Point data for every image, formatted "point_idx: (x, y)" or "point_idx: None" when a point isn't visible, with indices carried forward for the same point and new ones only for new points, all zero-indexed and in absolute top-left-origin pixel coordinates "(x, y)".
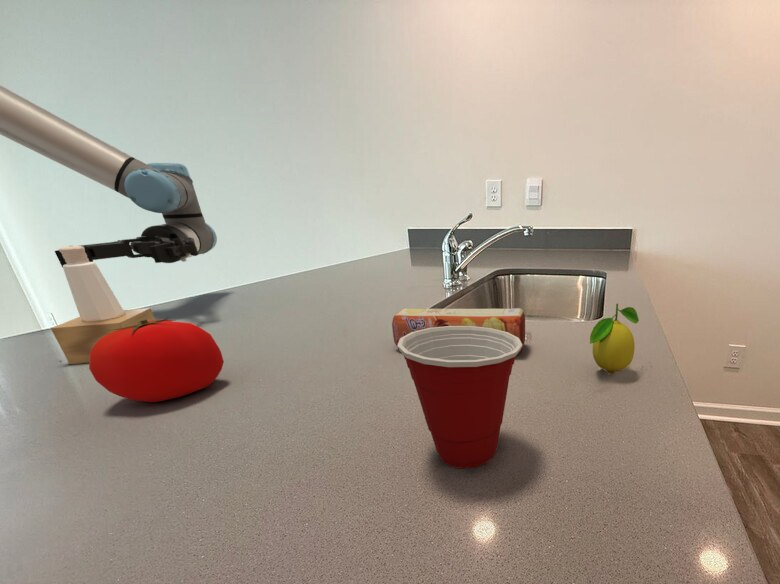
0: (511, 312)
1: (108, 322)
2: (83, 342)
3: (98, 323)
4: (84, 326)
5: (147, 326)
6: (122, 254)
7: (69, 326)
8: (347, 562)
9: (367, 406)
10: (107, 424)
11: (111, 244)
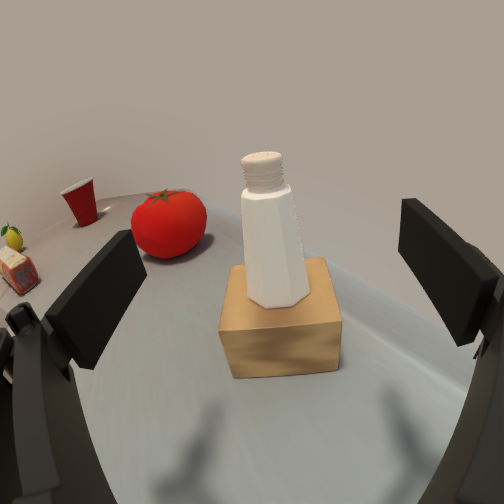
0: (4, 247)
1: None
2: None
3: None
4: None
5: (159, 192)
6: (432, 483)
7: None
8: (133, 202)
9: (94, 238)
10: (206, 229)
11: (485, 407)
